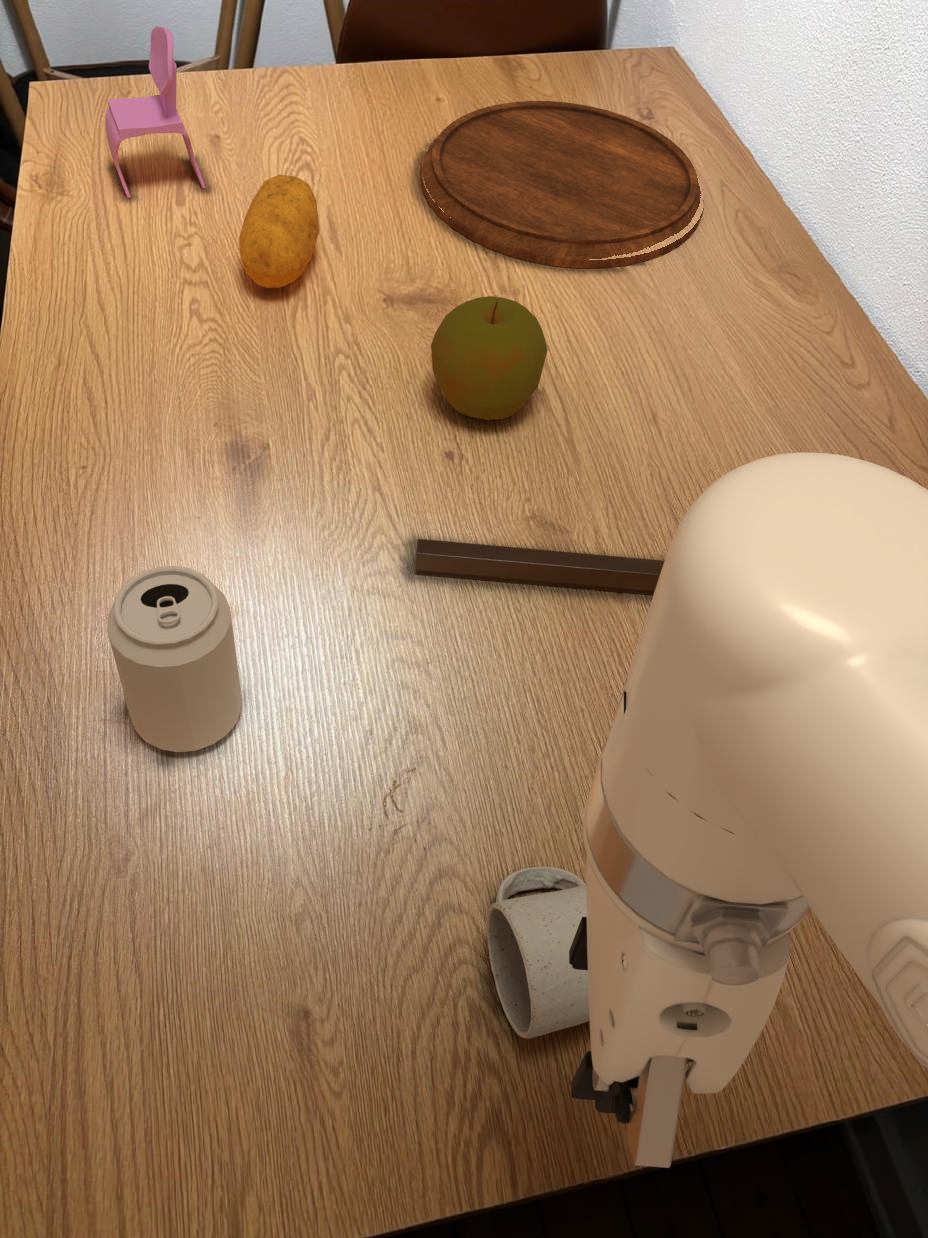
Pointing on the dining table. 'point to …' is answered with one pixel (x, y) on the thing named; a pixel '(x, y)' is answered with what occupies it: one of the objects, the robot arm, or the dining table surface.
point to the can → (176, 658)
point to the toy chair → (150, 105)
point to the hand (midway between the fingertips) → (606, 1025)
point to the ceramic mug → (538, 951)
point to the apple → (488, 357)
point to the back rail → (537, 567)
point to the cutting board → (561, 184)
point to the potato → (279, 231)
